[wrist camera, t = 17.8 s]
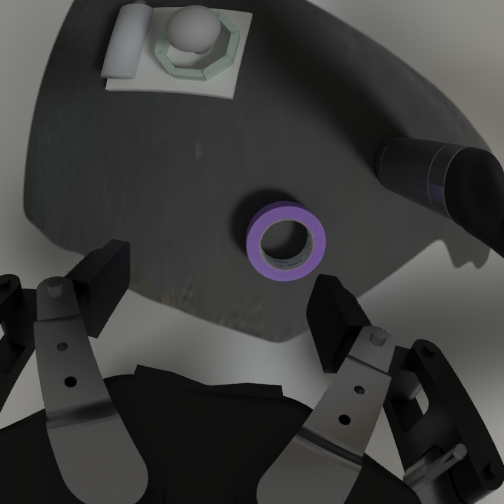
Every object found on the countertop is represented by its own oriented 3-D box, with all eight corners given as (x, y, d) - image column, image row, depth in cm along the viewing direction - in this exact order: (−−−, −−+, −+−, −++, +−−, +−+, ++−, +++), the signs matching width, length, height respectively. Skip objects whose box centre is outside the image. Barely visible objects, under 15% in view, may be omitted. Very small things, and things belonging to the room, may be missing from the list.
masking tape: (233, 219, 42) (232, 227, 38) (303, 188, 40) (309, 193, 37) (264, 280, 46) (266, 292, 43) (328, 252, 45) (335, 262, 41)
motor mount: (252, 18, 29) (254, -2, 22) (232, 99, 34) (230, 91, 28) (132, 14, 27) (115, -2, 20) (111, 90, 32) (89, 85, 26)
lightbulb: (186, 73, 31) (165, 50, 21) (176, 38, 28) (154, 8, 18) (229, 60, 30) (224, 32, 20) (218, 25, 28) (210, -10, 18)
